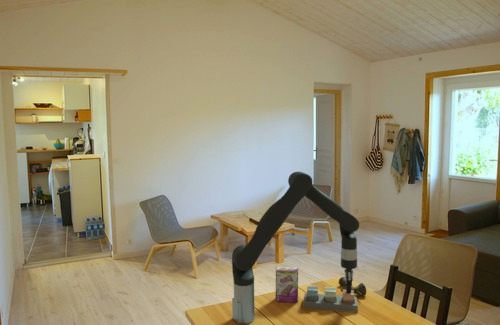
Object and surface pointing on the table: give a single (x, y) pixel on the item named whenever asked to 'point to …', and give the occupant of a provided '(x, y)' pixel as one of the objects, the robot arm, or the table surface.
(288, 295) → the candy bar box
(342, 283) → the kendama
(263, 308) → the table surface
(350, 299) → the terracotta block
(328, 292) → the sage block
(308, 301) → the charcoal board
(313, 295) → the slate-blue block
